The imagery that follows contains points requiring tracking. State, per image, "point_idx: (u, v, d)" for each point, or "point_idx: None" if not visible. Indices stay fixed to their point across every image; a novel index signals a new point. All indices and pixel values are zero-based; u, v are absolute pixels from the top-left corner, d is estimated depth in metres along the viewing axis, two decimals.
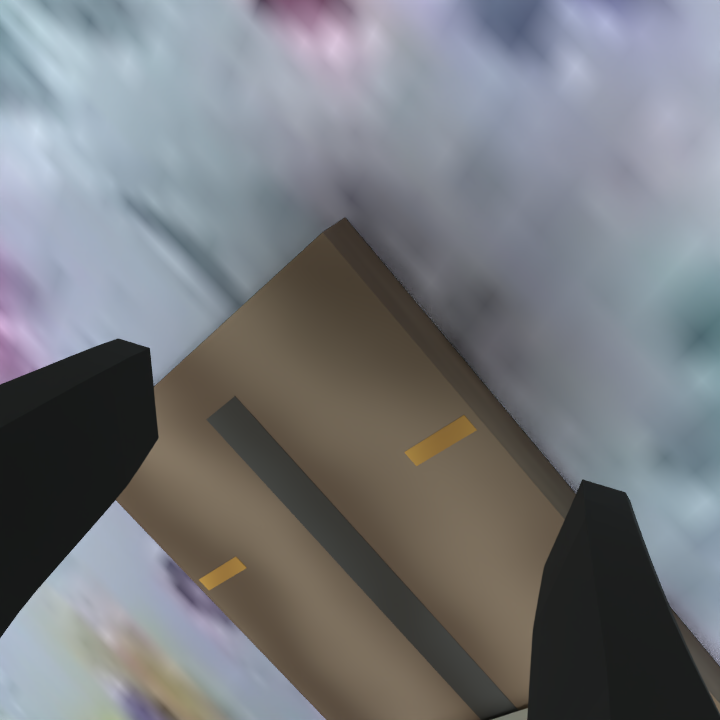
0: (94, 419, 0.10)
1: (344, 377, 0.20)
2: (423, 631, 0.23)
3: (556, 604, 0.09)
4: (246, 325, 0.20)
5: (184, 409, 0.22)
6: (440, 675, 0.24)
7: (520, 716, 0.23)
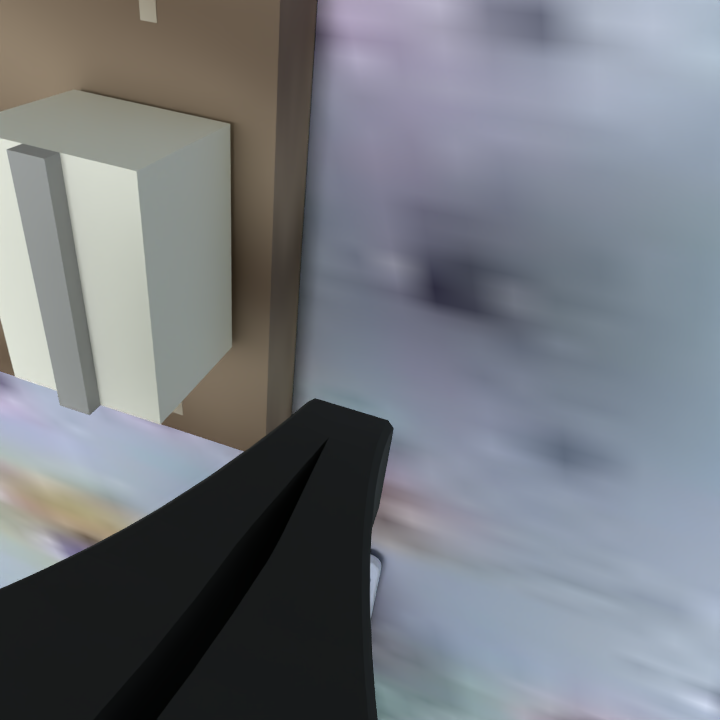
0: None
1: None
2: None
3: None
4: None
5: None
6: None
7: None
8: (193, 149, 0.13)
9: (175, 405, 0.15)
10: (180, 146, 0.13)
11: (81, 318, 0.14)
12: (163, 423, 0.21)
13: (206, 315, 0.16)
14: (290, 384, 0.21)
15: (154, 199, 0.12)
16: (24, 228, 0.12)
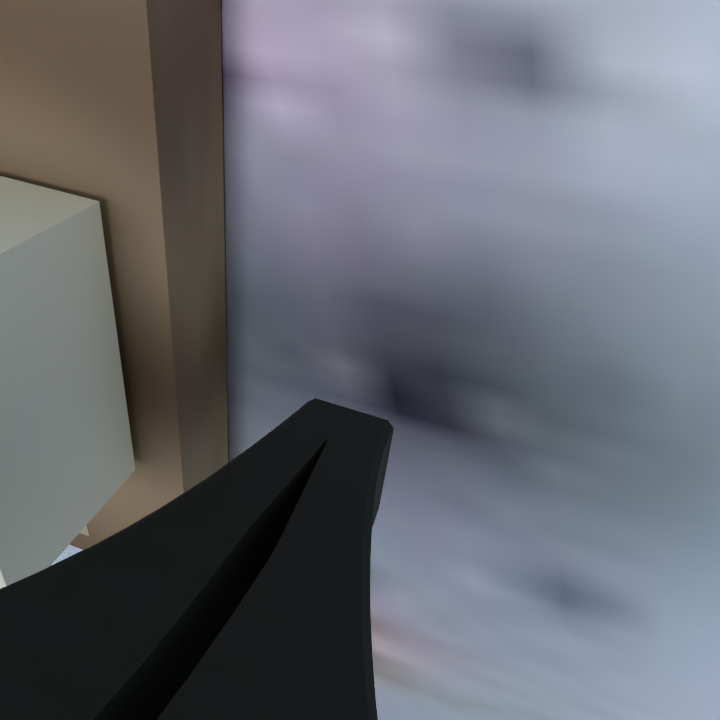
0: None
1: None
2: None
3: None
4: None
5: None
6: None
7: None
8: (29, 247, 0.09)
9: None
10: (3, 248, 0.09)
11: None
12: None
13: (83, 448, 0.12)
14: None
15: None
16: None
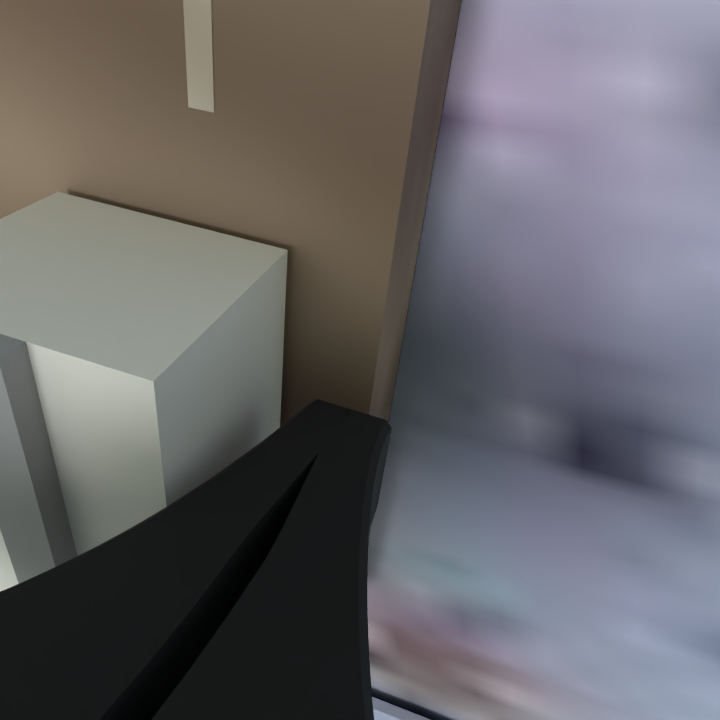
0: None
1: None
2: None
3: None
4: None
5: None
6: None
7: None
8: (238, 306, 0.08)
9: None
10: (219, 310, 0.08)
11: (68, 553, 0.09)
12: None
13: None
14: None
15: (181, 405, 0.08)
16: None
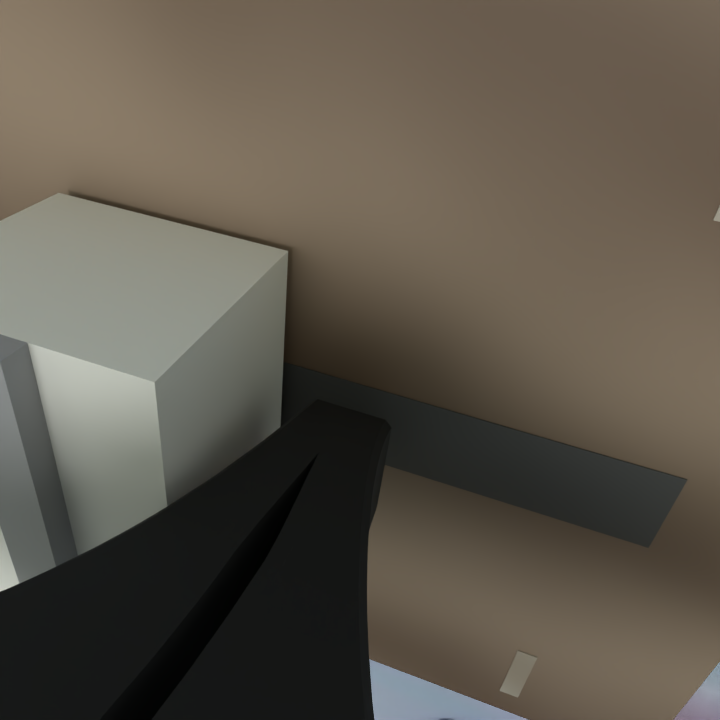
0: None
1: None
2: None
3: None
4: None
5: None
6: None
7: None
8: (239, 308, 0.08)
9: None
10: (220, 310, 0.08)
11: (69, 553, 0.09)
12: (476, 697, 0.15)
13: None
14: None
15: (182, 406, 0.08)
16: None
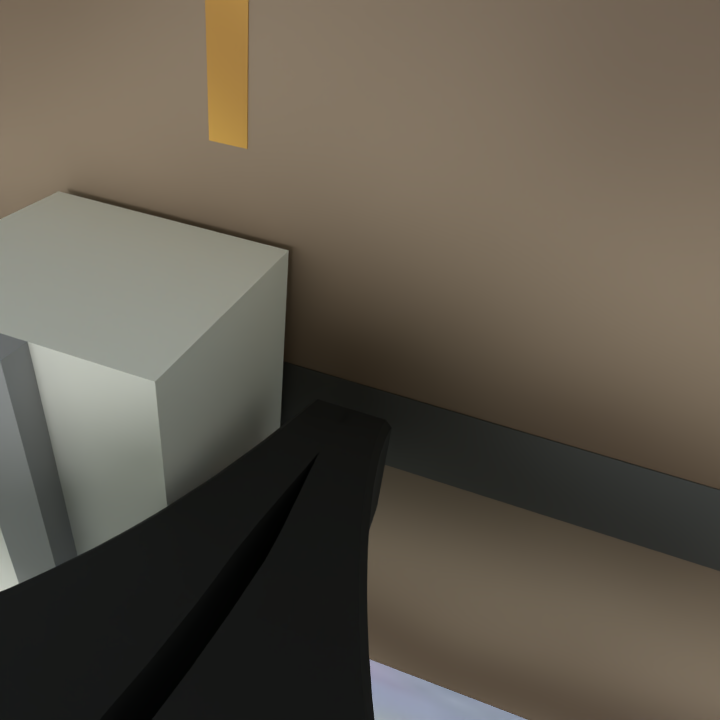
0: None
1: (30, 90, 0.10)
2: (549, 479, 0.11)
3: None
4: None
5: None
6: (652, 549, 0.11)
7: None
8: (240, 307, 0.08)
9: None
10: (220, 310, 0.08)
11: (67, 552, 0.09)
12: None
13: None
14: None
15: (182, 405, 0.08)
16: None
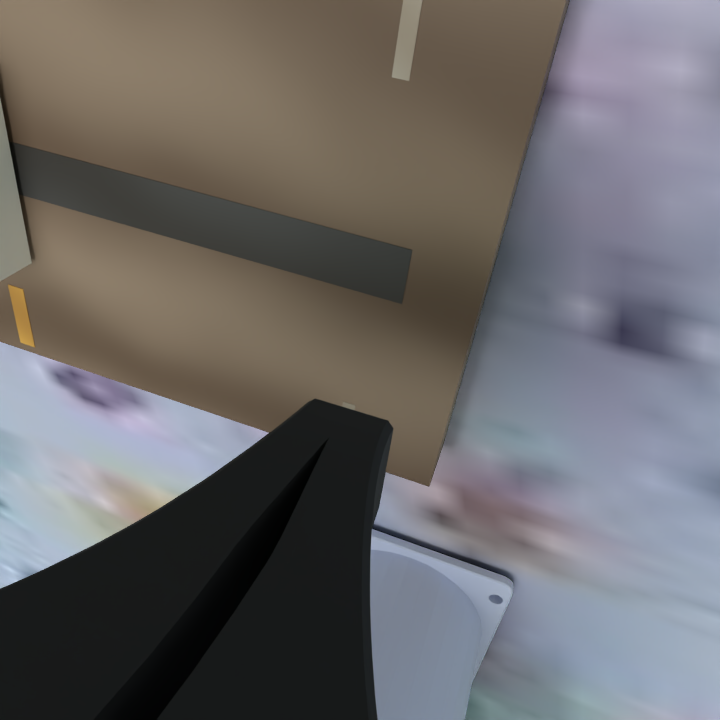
0: None
1: None
2: (160, 209, 0.18)
3: None
4: None
5: None
6: (221, 252, 0.18)
7: None
8: None
9: None
10: None
11: None
12: None
13: None
14: (451, 414, 0.21)
15: None
16: None
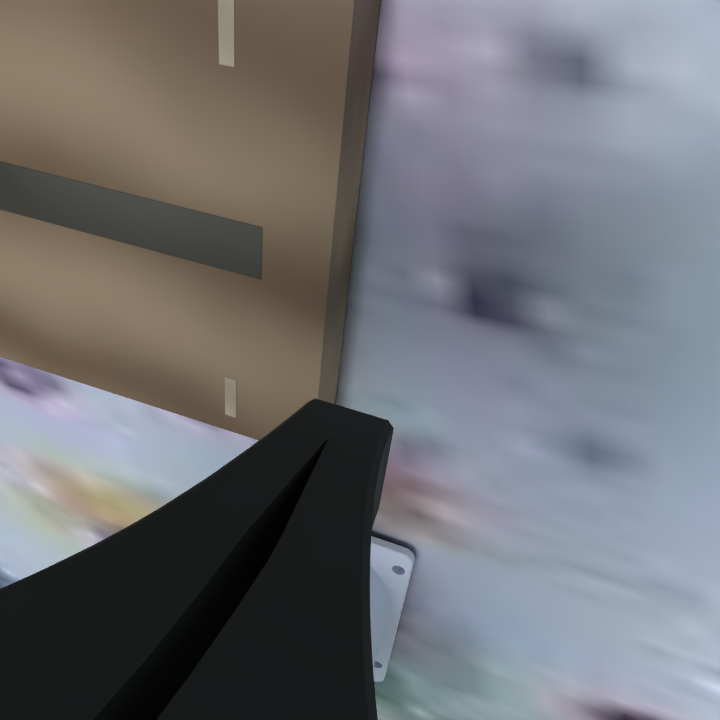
0: None
1: None
2: (40, 196, 0.19)
3: None
4: None
5: None
6: (98, 235, 0.19)
7: None
8: None
9: None
10: None
11: None
12: (216, 425, 0.22)
13: None
14: (335, 388, 0.22)
15: None
16: None
